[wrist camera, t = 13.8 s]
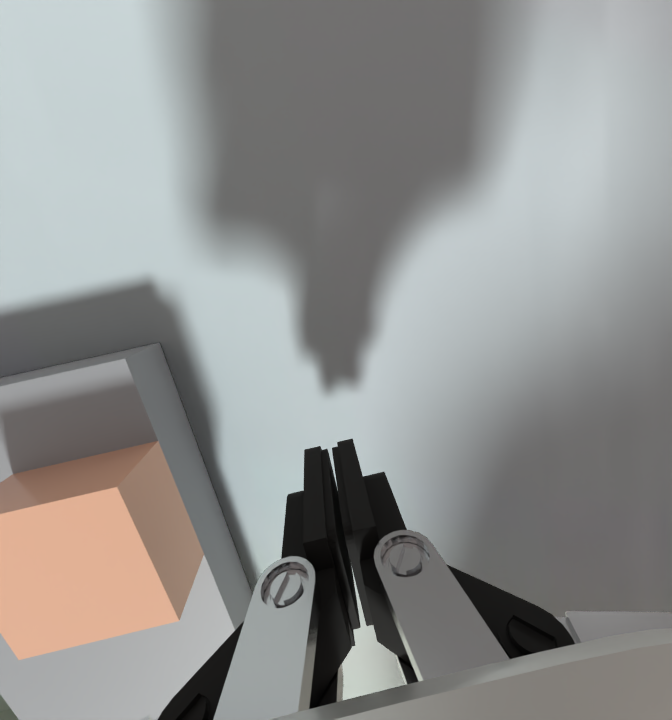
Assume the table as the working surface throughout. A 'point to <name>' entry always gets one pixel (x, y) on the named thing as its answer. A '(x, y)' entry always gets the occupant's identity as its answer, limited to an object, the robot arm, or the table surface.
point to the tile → (93, 550)
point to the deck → (220, 561)
